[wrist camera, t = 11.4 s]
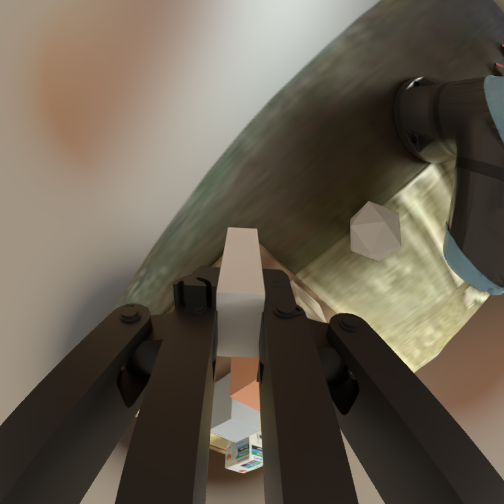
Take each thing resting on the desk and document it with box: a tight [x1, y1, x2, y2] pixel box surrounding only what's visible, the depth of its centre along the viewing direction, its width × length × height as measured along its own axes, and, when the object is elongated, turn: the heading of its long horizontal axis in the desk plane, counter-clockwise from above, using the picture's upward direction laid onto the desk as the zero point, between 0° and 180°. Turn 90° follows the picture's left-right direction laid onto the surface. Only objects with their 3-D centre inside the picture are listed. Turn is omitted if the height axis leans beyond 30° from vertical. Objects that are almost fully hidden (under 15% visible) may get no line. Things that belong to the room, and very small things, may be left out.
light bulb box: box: [225, 431, 263, 473], centre depth 60 cm, size 11×7×11 cm, turn 139°
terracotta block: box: [230, 355, 260, 411], centre depth 43 cm, size 7×7×12 cm
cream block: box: [290, 280, 327, 323], centre depth 40 cm, size 7×7×12 cm
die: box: [350, 201, 401, 262], centre depth 39 cm, size 8×9×10 cm
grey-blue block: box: [210, 372, 260, 442], centre depth 48 cm, size 7×7×12 cm
